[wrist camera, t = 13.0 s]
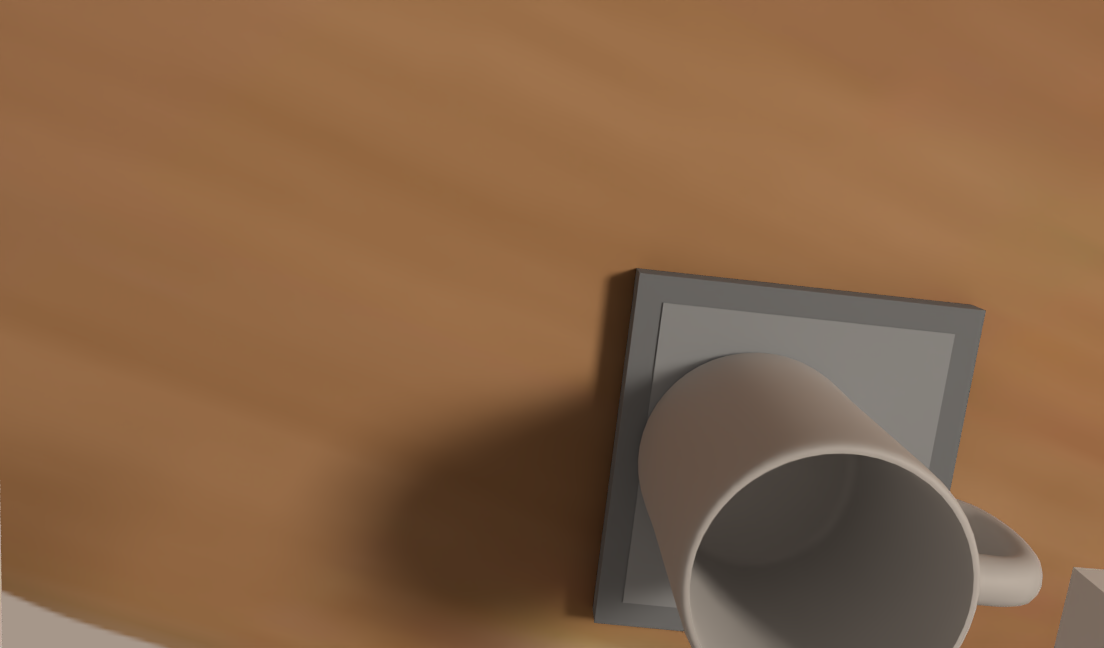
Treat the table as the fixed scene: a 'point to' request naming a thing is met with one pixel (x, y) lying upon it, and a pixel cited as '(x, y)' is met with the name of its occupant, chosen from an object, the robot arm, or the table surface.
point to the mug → (812, 519)
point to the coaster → (787, 330)
